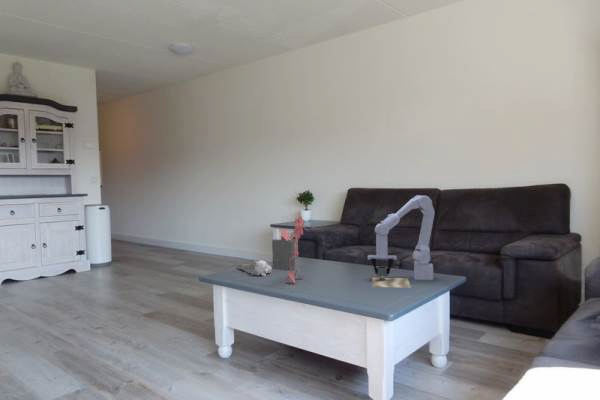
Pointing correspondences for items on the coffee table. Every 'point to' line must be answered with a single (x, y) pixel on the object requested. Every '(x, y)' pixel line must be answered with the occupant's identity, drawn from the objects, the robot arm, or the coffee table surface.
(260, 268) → the white lumpy shape
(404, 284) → the board
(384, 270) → the ring
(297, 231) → the figurine
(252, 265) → the wrench
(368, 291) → the coffee table surface
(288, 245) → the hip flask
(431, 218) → the robot arm
